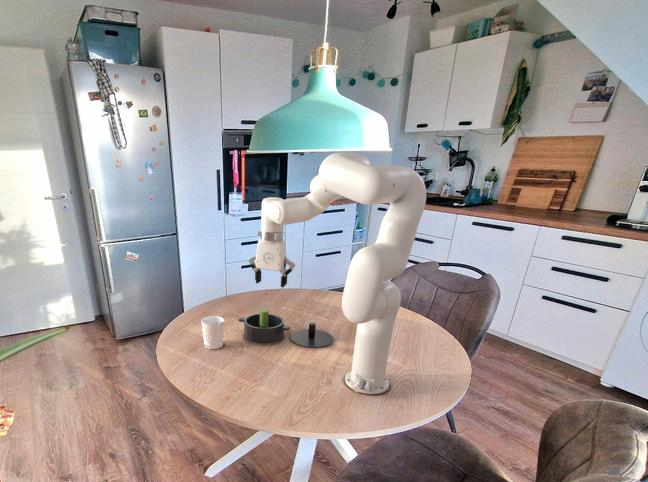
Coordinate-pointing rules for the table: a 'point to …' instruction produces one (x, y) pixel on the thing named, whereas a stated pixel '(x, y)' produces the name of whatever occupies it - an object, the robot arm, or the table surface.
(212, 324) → the white cup
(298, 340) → the pot lid
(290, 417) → the table surface
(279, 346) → the table surface
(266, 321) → the green cylinder
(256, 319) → the pot
